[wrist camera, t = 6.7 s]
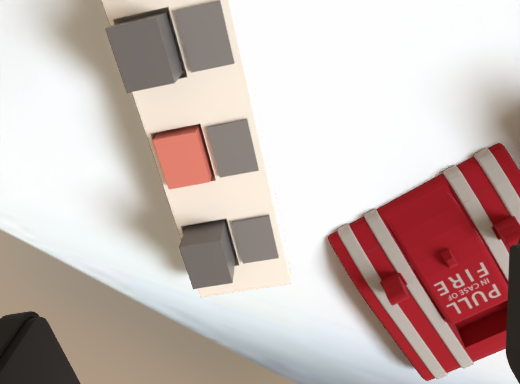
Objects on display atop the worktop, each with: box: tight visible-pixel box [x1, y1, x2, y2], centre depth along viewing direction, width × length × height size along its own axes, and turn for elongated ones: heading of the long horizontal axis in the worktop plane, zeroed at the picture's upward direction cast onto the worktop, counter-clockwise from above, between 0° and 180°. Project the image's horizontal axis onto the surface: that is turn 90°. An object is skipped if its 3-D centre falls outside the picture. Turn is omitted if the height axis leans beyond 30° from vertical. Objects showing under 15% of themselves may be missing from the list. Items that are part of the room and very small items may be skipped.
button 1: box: [106, 12, 183, 93], centre depth 30 cm, size 4×3×3 cm
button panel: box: [102, 0, 291, 297], centre depth 35 cm, size 32×8×4 cm, turn 12°
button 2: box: [153, 124, 213, 189], centre depth 35 cm, size 4×3×3 cm
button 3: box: [179, 219, 235, 289], centre depth 37 cm, size 4×3×3 cm
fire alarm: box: [328, 143, 520, 381], centre depth 41 cm, size 16×6×20 cm
